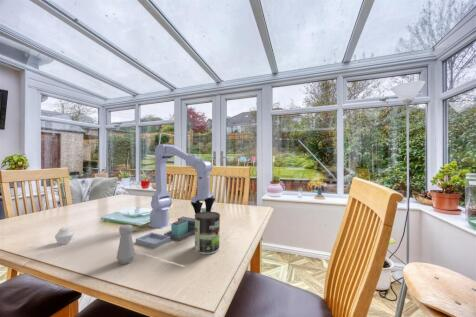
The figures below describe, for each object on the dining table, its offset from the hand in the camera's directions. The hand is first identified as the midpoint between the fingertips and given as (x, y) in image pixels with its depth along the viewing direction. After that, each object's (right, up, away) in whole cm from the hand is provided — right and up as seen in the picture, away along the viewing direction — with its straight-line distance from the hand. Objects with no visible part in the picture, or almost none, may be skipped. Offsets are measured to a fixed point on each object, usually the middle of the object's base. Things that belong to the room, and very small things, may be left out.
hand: (203, 214), depth 100 cm
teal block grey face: (-11, -10, -1) cm, 15 cm away
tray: (-20, -10, -9) cm, 24 cm away
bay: (-10, -10, +1) cm, 14 cm away
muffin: (-58, -10, -10) cm, 60 cm away
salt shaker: (-24, -10, -25) cm, 36 cm away
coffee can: (+4, -11, -14) cm, 18 cm away
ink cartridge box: (+1, -10, +10) cm, 14 cm away
